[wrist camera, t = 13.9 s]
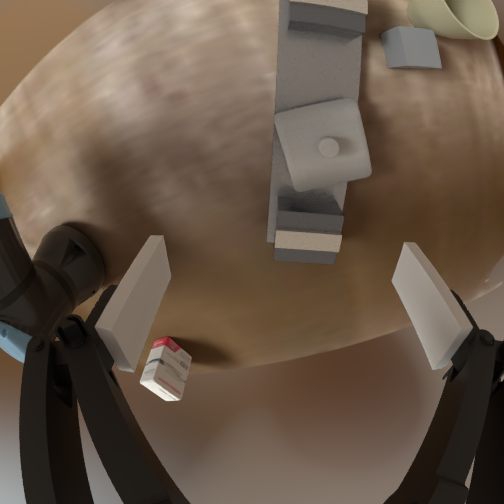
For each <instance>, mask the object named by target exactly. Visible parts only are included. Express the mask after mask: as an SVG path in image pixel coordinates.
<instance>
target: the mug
mask: <svg viewBox="0 0 504 504" xmlns="http://www.w3.org/2000/svg"><path fill="white" fill-rule="evenodd" d="M407 15H408V17H409V19H410V21H411V22H412V24H413V25H414V26H415V27H417V28H422V29H429V30H434V34H435V35H438V36H442V37H446V38H451V39H479V40H489V39H492V38H494V37H495V36H496V35H497V33H498V29H499V20H498V15H497V12H496V9H495V7H494V5H493V3H492V1H491V0H410V3H409V5H408V7H407Z"/></svg>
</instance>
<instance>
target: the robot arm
mask: <svg viewBox="0 0 504 504" xmlns="http://www.w3.org/2000/svg"><path fill="white" fill-rule="evenodd" d="M170 279H171V272H170V267H169V262H168V257H167V252H166V246H165V241H164V235H150V237H149V238H148V240H147V241H146V243H145V244H144V246H143V247H142V249H141V250H140V252H139V253H138V255H137V256H136V258H135V260H134V261H133V263H132V264H131V266H130V267H129V269H128V271H127V272H126V274H125V275H124V277H123V279H122V280H121V282H120V284H119V285H111V286H109V287H108V288H107V289H106V290H105V291H104V292H103V293H102V295H101V296H100V298H99V301H97V303H96V304H95V307H94V308H93V309H92V311H91V313H90V315H89V316H88V318H87V320H86V321H85V323H84V321H83V319H82V318H81V317H80V316H78V315H74V314H71V313H72V312H73V310H74V309H75V308H76V307H77V306H78V305H80V304H81V303H83V302H84V301H86V300H87V299H89V298H90V297H92V296H93V295H95V294H96V293H97V292H98V290H99V289H100V287H101V286H102V285H103V283H104V280H105V267H104V263H103V261H102V258H101V256H100V254H99V252H98V251H97V249H96V248H95V246H94V245H93V244H92V242H91V241H90V240H89V239H88V238H87V237H86V236H84V235H83V234H82V233H81V232H79V231H78V230H76V229H74V228H72V227H69V226H56V227H54V228H53V229H51V230H50V231H49V232H48V233H47V234H46V235H45V236H44V237H43V239H42V241H41V244H40V246H39V248H38V249H37V251H36V253H35V256H34V258H33V260H32V261H31V259H30V257H29V254H28V252H27V250H26V248H25V246H24V244H23V241H22V239H21V237H20V234H19V232H18V229H17V227H16V224H15V221H14V219H13V214H12V213H11V211H10V209H9V207H8V204H7V202H6V199H5V197H4V195H3V194H2V193H1V192H0V347H1V348H2V349H3V350H4V351H5V352H7V353H8V354H10V355H11V356H12V357H14V358H15V359H17V360H19V361H21V362H22V363H24V367H23V375H22V384H21V396H20V416H19V418H20V419H19V420H20V421H19V439H20V458H21V470H22V479H23V486H24V493H25V498H26V503H27V504H94V502H93V498H92V494H91V491H90V486H89V482H88V477H87V473H86V467H85V462H84V457H83V450H82V444H81V436H80V428H79V418H78V406H77V399H78V402H79V406H80V408H81V412H82V414H83V417H84V420H85V423H86V426H87V428H88V431H89V433H90V436H91V438H92V441H93V443H94V446H95V448H96V450H97V452H98V455H99V457H100V459H101V461H102V464H103V466H104V468H105V470H106V472H107V474H108V476H109V478H110V479H111V482H112V484H113V485H114V487H115V489H116V491H117V492H118V494H119V496H120V498H121V500H122V501H123V503H124V504H190V502H189V501H188V500H187V499H186V498H185V497H184V495H183V494H182V492H181V491H180V490H179V488H178V487H177V485H176V484H175V483H174V481H173V480H172V478H171V477H170V476H169V474H168V473H167V471H166V470H165V468H164V466H163V465H162V464H161V462H160V460H159V459H158V457H157V455H156V454H155V452H154V451H153V449H152V447H151V446H150V444H149V442H148V441H147V439H146V437H145V435H144V434H143V432H142V430H141V428H140V426H139V424H138V423H137V421H136V419H135V417H134V415H133V413H132V411H131V409H130V407H129V405H128V403H127V401H126V399H125V397H124V395H123V392H122V390H121V388H120V386H119V384H118V382H117V379H116V377H115V374H114V372H113V371H112V366H113V364H114V362H115V364H116V366H117V367H118V369H119V370H124V371H129V372H135V369H136V366H137V363H138V361H139V358H140V355H141V352H142V350H143V347H144V344H145V342H146V339H147V336H148V334H149V331H150V328H151V326H152V323H153V321H154V318H155V316H156V313H157V311H158V308H159V306H160V303H161V301H162V298H163V296H164V294H165V291H166V289H167V286H168V284H169V282H170ZM392 283H393V285H394V287H395V289H396V291H397V293H398V295H399V296H400V298H401V300H402V302H403V304H404V306H405V309H406V311H407V313H408V315H409V317H410V319H411V321H412V323H413V325H414V327H415V329H416V332H417V334H418V336H419V339H420V341H421V343H422V345H423V348H424V350H425V352H426V355H427V357H428V360H429V362H430V365H431V367H432V369H433V370H435V369H440V368H444V367H445V366H446V365H447V364H448V362H449V361H450V360H451V361H452V363H453V365H452V367H451V368H450V369H449V370H448V371H447V373H446V374H445V375H444V376H443V378H442V379H443V380H444V379H445V378H446V377H447V376H448V377H447V380H446V383H445V386H444V390H443V393H442V396H441V398H440V401H439V404H438V407H437V410H436V412H435V415H434V417H433V420H432V422H431V425H430V427H429V429H428V432H427V434H426V436H425V439H424V441H423V443H422V445H421V447H420V449H419V451H418V453H417V455H416V457H415V459H414V461H413V463H412V465H411V467H410V469H409V471H408V472H407V474H406V476H405V477H404V479H403V481H402V483H401V484H400V486H399V488H398V489H397V490H396V491H395V492H394V493H393V494H392V495H391V496H390V497H389V498H388V499H387V500H386V501H385V502H384V504H464V503H465V501H466V504H504V380H503V381H502V382H501V377H502V375H503V374H504V341H497V340H495V339H494V337H493V335H492V334H491V333H490V332H488V331H486V330H483V329H482V330H480V329H479V328H478V326H477V324H476V322H475V321H474V319H473V318H472V316H471V314H470V313H469V311H468V310H467V308H466V307H465V305H464V304H463V302H462V300H461V299H460V297H459V296H458V295H457V294H456V293H455V292H454V291H453V290H449V288H448V287H447V285H446V284H445V282H444V281H443V279H442V278H441V277H440V275H439V274H438V272H437V271H436V270H435V268H434V267H433V265H432V264H431V263H430V261H429V260H428V259H427V257H426V256H425V255H424V253H423V252H422V251H421V249H420V248H419V247H418V246H417V244H416V243H414V242H404V245H403V248H402V251H401V254H400V258H399V261H398V264H397V267H396V270H395V273H394V276H393V278H392ZM56 337H58V338H59V340H60V341H55V339H56ZM474 456H475V461H474V467H473V473H472V478H471V483H470V488H469V490H468V488H467V487H466V486H465V481H466V478H467V475H468V473H469V470H470V468H471V465H472V462H473V459H474ZM466 499H467V500H466Z"/></svg>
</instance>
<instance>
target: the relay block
mask: <svg viewBox="0 0 504 504" xmlns="http://www.w3.org/2000/svg"><path fill="white" fill-rule="evenodd" d="M380 36H381V40H382V44H383V48H384V52H385V57H386V61H387V66H388V68H410V69H434V68H442V65H441V60H440V55H439V50H438V46H437V42H436V37H435V34H434V30H429V29H422V28H414V27H405V26H397V27H394V28H392V29H389V30H387V31H385V32H383V33H380Z"/></svg>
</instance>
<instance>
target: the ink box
mask: <svg viewBox="0 0 504 504" xmlns="http://www.w3.org/2000/svg"><path fill="white" fill-rule="evenodd" d="M191 359H192V357H191V356H190V355H189V354H188V353H187V352H185V351H184V350H183V349H182V348H181V347H180V346H178V345H177V344H176V343H175V342H174V341H173V340H172V339H171V338H170V337H168V336H167V337H164V338H161V339H158V340H155V341H154V344H153V347H152V349H151V352H150V355H149V357H148V360H147V363H146V366H145V369H144V371H143V374H142V377H141V380H140V383H141V384H142V385H144V386H145V387H147V388H148V389H149V390H151V391H152V392H154V393H155V394H157V395H158V396H160V397H161V398H163V399H164V400H166V401H176V400H181V398H182V394H183V390H184V386H185V382H186V378H187V375H188V371H189V367H190V363H191Z"/></svg>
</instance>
